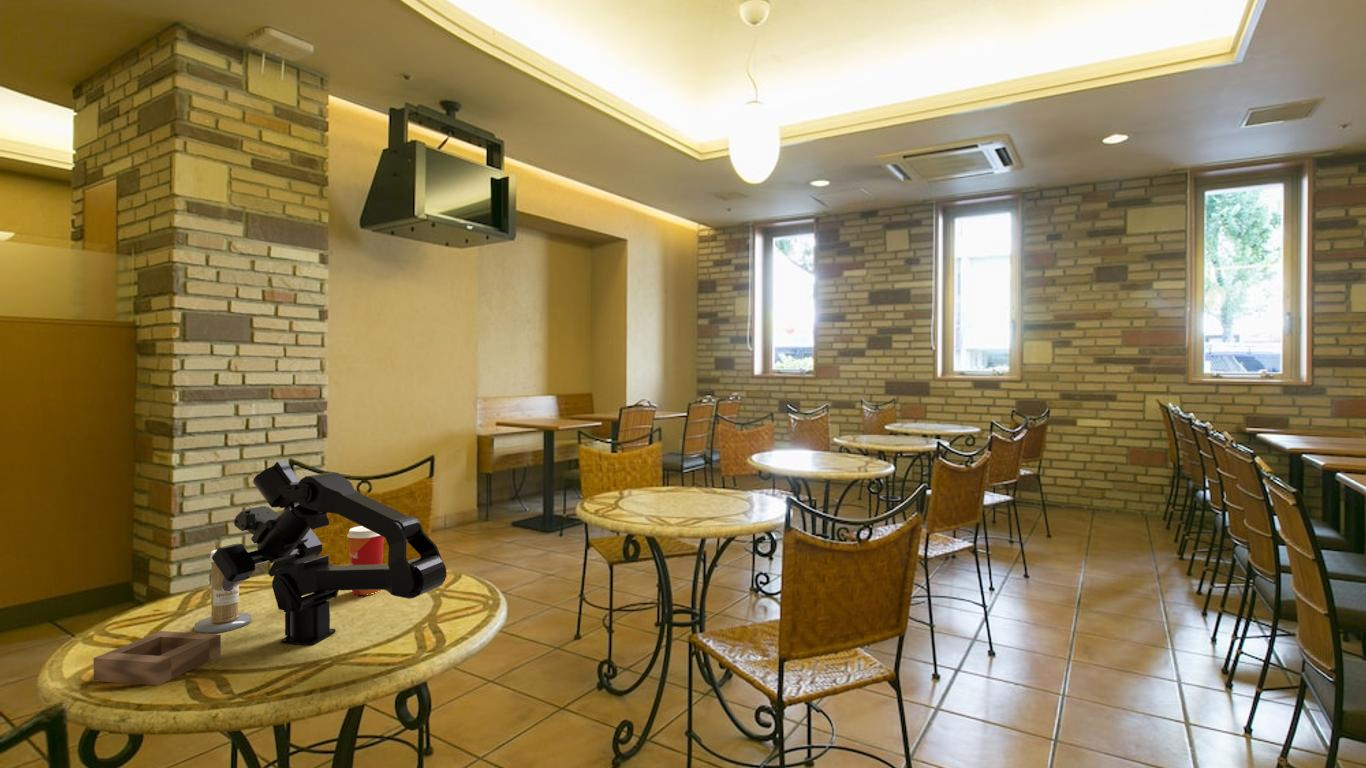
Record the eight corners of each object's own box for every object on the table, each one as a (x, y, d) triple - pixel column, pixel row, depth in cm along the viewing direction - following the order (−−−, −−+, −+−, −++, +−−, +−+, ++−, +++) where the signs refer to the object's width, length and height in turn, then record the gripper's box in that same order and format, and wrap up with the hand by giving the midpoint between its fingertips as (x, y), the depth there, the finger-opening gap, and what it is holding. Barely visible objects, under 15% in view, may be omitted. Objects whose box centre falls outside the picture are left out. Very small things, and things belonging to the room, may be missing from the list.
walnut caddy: (220, 655, 114) (220, 634, 114) (158, 685, 103) (158, 662, 103) (161, 651, 116) (161, 630, 116) (93, 680, 105) (93, 658, 105)
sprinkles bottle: (220, 625, 126) (220, 553, 126) (205, 622, 128) (204, 551, 128) (245, 617, 130) (244, 548, 130) (229, 614, 132) (229, 545, 132)
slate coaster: (262, 617, 133) (262, 613, 133) (225, 634, 124) (225, 630, 124) (222, 615, 134) (222, 611, 134) (181, 632, 125) (181, 627, 125)
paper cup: (350, 588, 151) (350, 525, 151) (387, 585, 154) (387, 523, 154) (344, 599, 144) (343, 533, 144) (383, 595, 146) (383, 530, 146)
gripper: (310, 485, 134) (269, 538, 138) (219, 502, 116) (174, 561, 120) (342, 528, 131) (299, 580, 135) (253, 551, 114) (207, 610, 117)
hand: (247, 581), depth 127 cm, fingers open, 9 cm apart
